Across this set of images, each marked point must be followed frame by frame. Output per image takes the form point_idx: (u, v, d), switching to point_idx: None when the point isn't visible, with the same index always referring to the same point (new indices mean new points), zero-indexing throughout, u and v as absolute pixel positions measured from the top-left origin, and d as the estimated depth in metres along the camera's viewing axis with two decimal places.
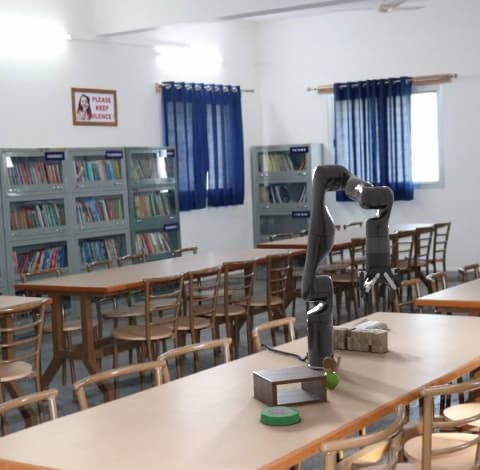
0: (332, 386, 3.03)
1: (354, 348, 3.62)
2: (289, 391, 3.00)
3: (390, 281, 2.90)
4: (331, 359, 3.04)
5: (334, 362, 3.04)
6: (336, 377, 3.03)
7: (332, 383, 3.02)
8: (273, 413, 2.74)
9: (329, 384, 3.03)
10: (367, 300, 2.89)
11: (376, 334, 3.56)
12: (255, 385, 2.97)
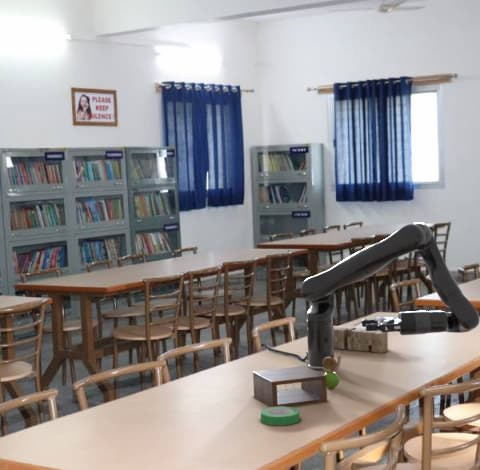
0: (332, 386, 3.03)
1: (354, 348, 3.63)
2: (289, 391, 3.00)
3: None
4: (331, 359, 3.04)
5: (334, 362, 3.04)
6: (336, 377, 3.03)
7: (332, 383, 3.02)
8: (273, 413, 2.74)
9: (329, 384, 3.03)
10: (370, 330, 2.98)
11: (376, 334, 3.56)
12: (255, 385, 2.97)
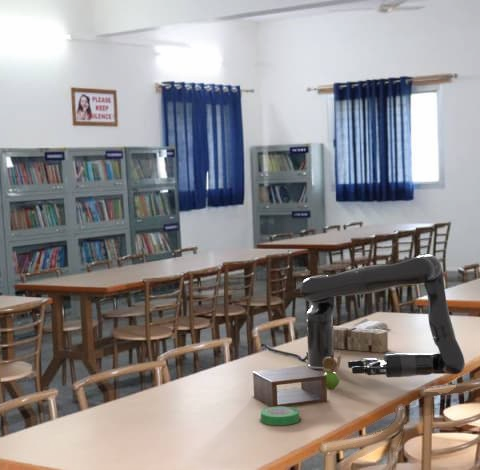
0: (332, 386, 3.03)
1: (354, 348, 3.63)
2: (289, 391, 3.00)
3: None
4: (331, 359, 3.04)
5: (334, 362, 3.04)
6: (336, 377, 3.03)
7: (332, 383, 3.02)
8: (273, 413, 2.74)
9: (329, 384, 3.03)
10: (356, 372, 3.00)
11: (376, 334, 3.56)
12: (255, 385, 2.97)
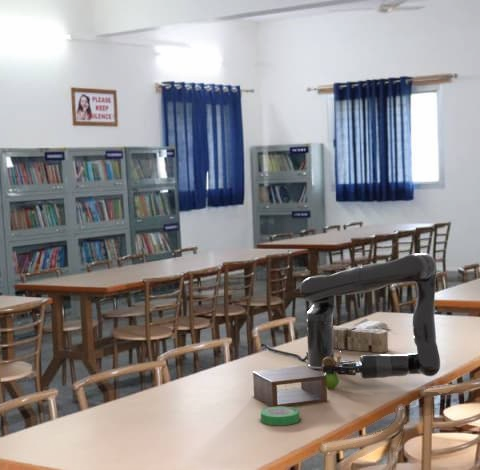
0: (332, 386, 3.03)
1: (354, 348, 3.63)
2: (289, 391, 3.00)
3: None
4: (331, 359, 3.04)
5: (334, 362, 3.04)
6: (336, 377, 3.03)
7: (333, 383, 3.02)
8: (273, 413, 2.74)
9: (329, 384, 3.03)
10: (326, 372, 3.03)
11: (376, 334, 3.56)
12: (255, 385, 2.97)
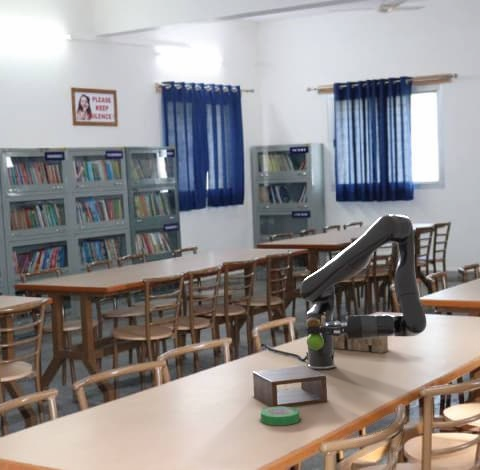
0: (317, 347, 2.97)
1: (354, 348, 3.63)
2: (289, 391, 3.00)
3: None
4: (316, 320, 2.97)
5: (319, 323, 2.97)
6: (321, 338, 2.97)
7: (318, 345, 2.96)
8: (273, 413, 2.74)
9: (314, 345, 2.96)
10: (311, 333, 2.97)
11: None
12: (255, 385, 2.97)
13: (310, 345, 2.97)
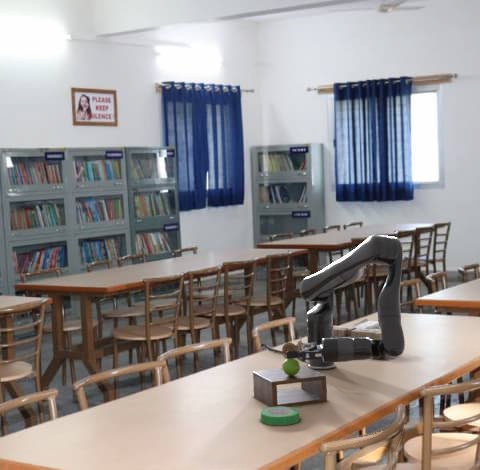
0: (293, 373, 2.88)
1: None
2: (289, 391, 3.00)
3: None
4: (291, 345, 2.89)
5: (295, 348, 2.89)
6: (297, 364, 2.88)
7: (293, 370, 2.88)
8: (273, 413, 2.74)
9: (290, 371, 2.88)
10: (290, 357, 2.85)
11: (376, 334, 3.56)
12: (255, 385, 2.97)
13: (286, 371, 2.88)
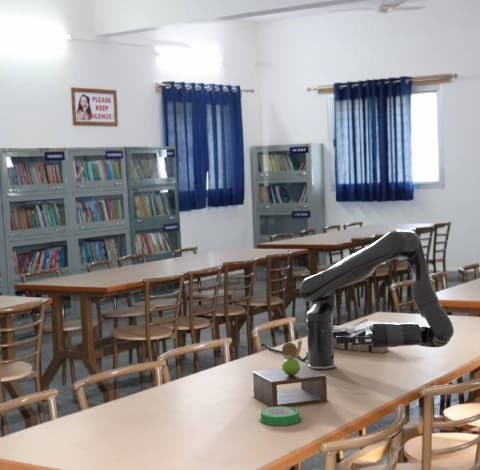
0: (293, 373, 2.88)
1: (354, 348, 3.63)
2: (289, 391, 3.00)
3: None
4: (291, 345, 2.89)
5: (295, 348, 2.89)
6: (297, 364, 2.88)
7: (293, 370, 2.88)
8: (273, 413, 2.74)
9: (290, 371, 2.88)
10: (340, 342, 2.87)
11: None
12: (255, 385, 2.97)
13: (286, 371, 2.88)
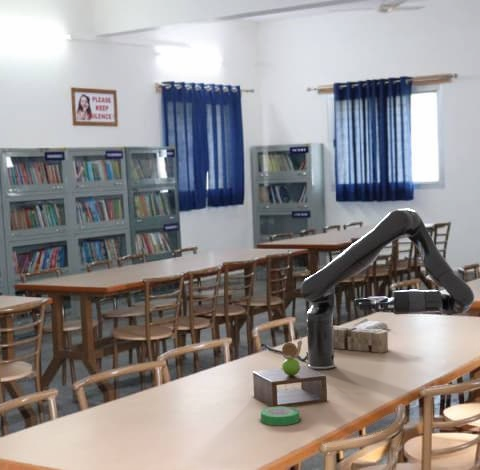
0: (293, 373, 2.88)
1: (354, 348, 3.63)
2: (289, 391, 3.00)
3: None
4: (291, 345, 2.89)
5: (295, 348, 2.89)
6: (297, 364, 2.88)
7: (293, 370, 2.88)
8: (273, 413, 2.74)
9: (290, 371, 2.88)
10: (363, 309, 2.93)
11: (376, 334, 3.56)
12: (255, 385, 2.97)
13: (286, 371, 2.88)
